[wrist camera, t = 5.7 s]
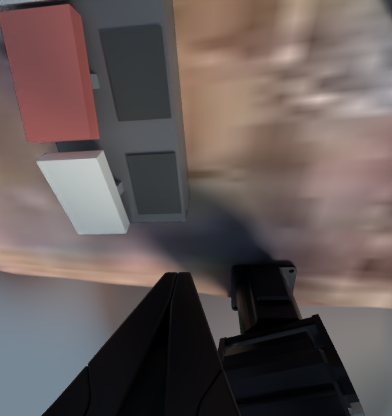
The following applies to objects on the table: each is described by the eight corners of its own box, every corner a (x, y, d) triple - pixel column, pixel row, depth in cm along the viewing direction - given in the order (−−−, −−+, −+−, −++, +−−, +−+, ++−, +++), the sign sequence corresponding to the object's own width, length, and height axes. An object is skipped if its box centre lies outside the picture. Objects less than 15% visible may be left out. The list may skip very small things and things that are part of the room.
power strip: (189, 198, 21) (184, 227, 16) (104, 201, 21) (78, 229, 17) (160, -131, 12) (132, -251, 8) (18, -109, 13) (-81, -207, 8)
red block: (99, 139, 13) (90, 138, 12) (40, 142, 13) (27, 142, 12) (81, 15, 12) (69, 3, 11) (15, 23, 12) (-3, 11, 11)
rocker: (129, 224, 17) (126, 233, 17) (84, 225, 18) (78, 234, 17) (103, 150, 13) (96, 158, 13) (45, 153, 14) (35, 161, 13)
